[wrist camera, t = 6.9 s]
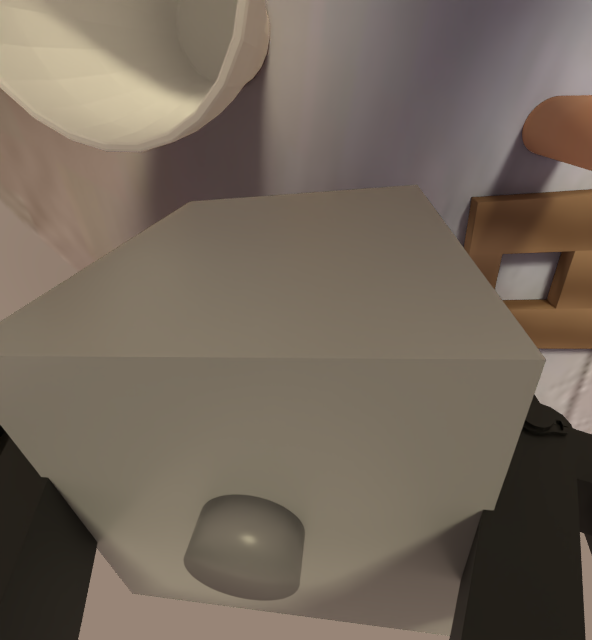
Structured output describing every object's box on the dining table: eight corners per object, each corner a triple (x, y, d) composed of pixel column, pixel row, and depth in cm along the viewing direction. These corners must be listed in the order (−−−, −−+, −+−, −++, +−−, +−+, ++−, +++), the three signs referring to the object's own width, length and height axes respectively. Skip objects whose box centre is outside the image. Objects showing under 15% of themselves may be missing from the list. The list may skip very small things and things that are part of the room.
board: (471, 197, 24) (478, 202, 23) (747, 179, 22) (771, 184, 20) (449, 338, 31) (453, 348, 29) (661, 337, 28) (675, 348, 27)
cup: (148, 115, 25) (-28, 129, 13) (128, -108, 19) (-209, -417, 8) (294, 139, 24) (242, 175, 13) (320, -82, 18) (266, -372, 7)
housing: (189, 201, 13) (-115, 393, 4) (417, 184, 12) (588, 416, 3) (232, 369, 17) (115, 631, 9) (402, 371, 16) (458, 684, 7)
